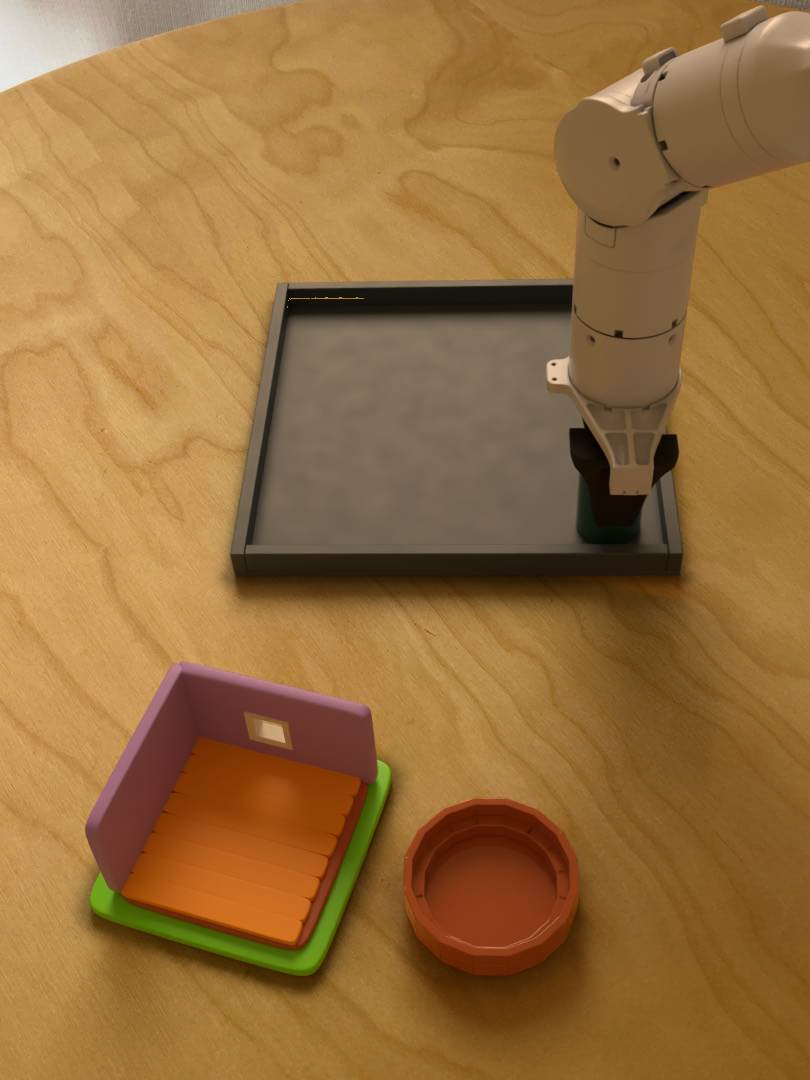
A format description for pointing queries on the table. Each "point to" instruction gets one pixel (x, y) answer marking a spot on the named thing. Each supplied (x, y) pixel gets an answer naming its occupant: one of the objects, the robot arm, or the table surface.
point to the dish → (491, 886)
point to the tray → (425, 439)
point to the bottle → (589, 528)
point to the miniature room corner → (239, 818)
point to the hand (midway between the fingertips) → (611, 494)
